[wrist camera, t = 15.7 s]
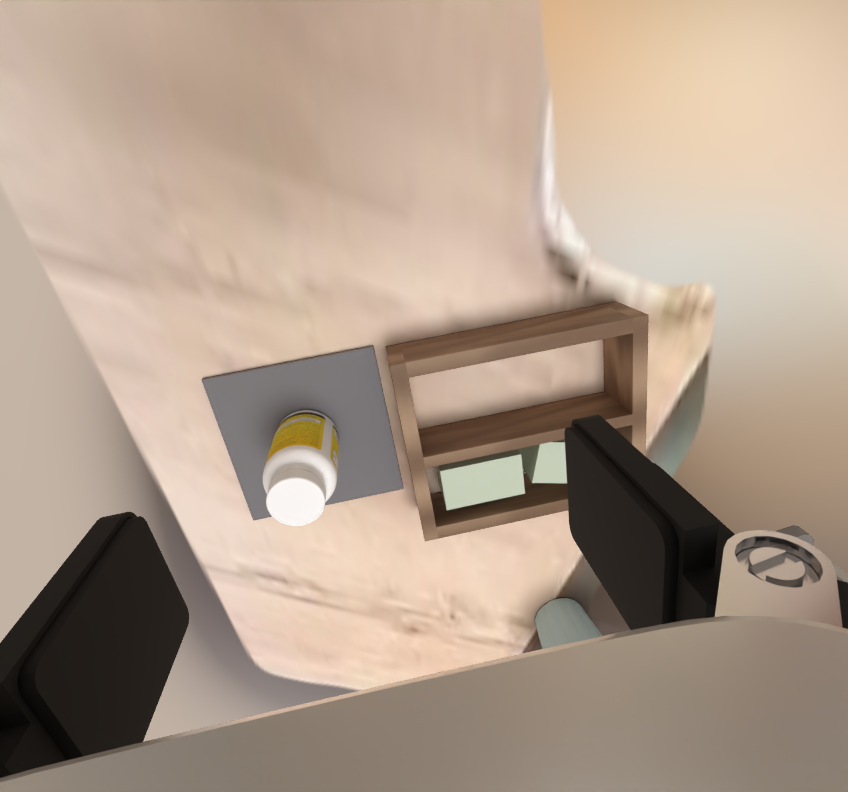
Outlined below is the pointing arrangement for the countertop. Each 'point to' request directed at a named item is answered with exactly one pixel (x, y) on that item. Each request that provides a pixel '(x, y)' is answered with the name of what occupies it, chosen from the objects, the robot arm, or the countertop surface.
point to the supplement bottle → (301, 467)
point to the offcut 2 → (545, 462)
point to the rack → (523, 426)
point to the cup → (563, 623)
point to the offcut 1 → (481, 479)
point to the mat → (318, 391)
